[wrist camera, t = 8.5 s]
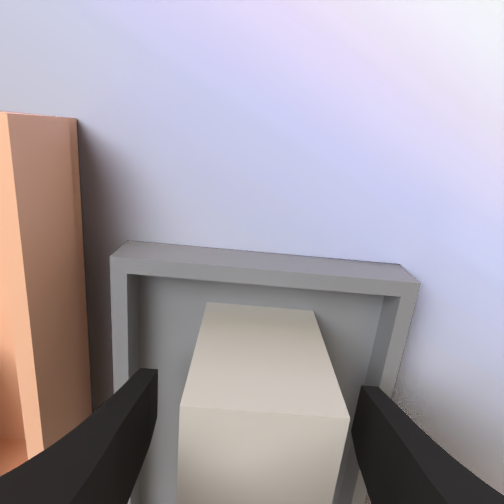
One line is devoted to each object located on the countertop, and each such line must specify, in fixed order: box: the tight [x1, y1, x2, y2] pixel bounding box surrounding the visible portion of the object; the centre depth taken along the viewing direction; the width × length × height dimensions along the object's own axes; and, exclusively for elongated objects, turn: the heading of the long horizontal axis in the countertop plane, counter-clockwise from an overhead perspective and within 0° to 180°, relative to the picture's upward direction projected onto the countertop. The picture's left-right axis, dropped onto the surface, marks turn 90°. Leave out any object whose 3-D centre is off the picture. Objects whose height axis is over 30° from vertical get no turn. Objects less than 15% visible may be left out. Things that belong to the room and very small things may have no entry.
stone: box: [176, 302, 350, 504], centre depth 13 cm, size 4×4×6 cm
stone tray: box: [109, 241, 421, 504], centre depth 17 cm, size 16×11×2 cm
